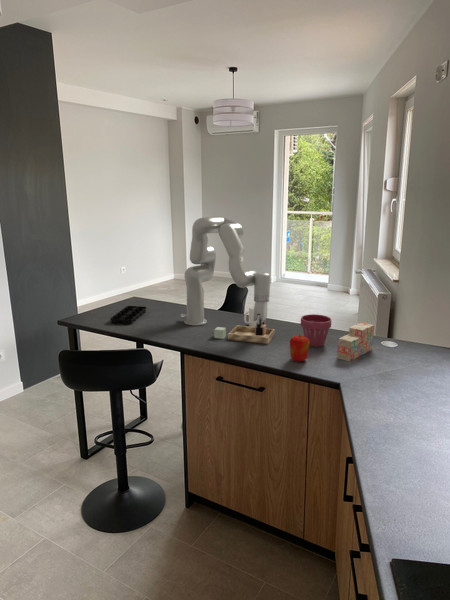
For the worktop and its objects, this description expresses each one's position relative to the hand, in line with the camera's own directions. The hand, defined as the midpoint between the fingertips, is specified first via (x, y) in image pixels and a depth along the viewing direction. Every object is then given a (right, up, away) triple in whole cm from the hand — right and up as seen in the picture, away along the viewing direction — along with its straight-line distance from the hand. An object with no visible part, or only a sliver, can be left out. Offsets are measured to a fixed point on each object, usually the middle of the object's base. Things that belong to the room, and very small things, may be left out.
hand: (260, 333), depth 211 cm
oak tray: (-4, -2, +2) cm, 5 cm away
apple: (+14, -10, -27) cm, 32 cm away
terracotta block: (0, 0, 0) cm, 0 cm away
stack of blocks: (+41, -8, -19) cm, 46 cm away
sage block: (-20, -2, +2) cm, 20 cm away
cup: (-2, +2, +21) cm, 21 cm away
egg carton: (-73, +6, +34) cm, 81 cm away
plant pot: (+26, -5, -6) cm, 27 cm away
